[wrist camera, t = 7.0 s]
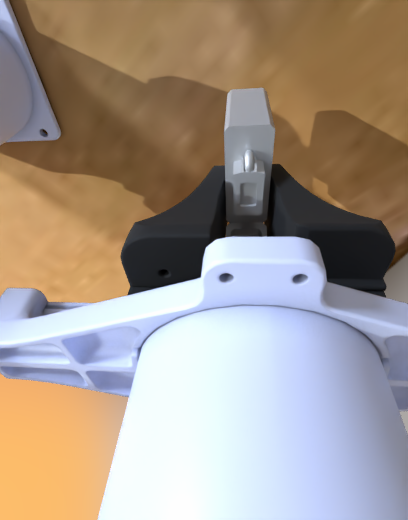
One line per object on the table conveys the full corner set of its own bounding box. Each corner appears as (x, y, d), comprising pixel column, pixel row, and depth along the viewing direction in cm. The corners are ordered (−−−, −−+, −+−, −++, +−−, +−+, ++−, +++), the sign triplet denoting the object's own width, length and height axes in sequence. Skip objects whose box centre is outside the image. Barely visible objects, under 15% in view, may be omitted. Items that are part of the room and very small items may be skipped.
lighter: (227, 90, 13) (218, 182, 8) (267, 87, 13) (288, 181, 7) (229, 219, 18) (225, 334, 12) (258, 219, 18) (266, 335, 12)
